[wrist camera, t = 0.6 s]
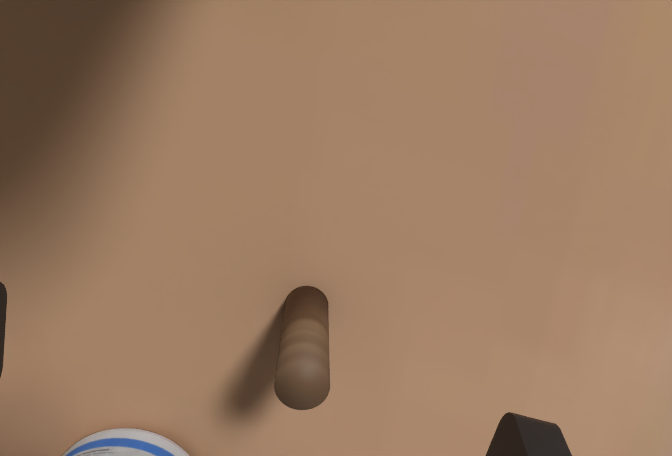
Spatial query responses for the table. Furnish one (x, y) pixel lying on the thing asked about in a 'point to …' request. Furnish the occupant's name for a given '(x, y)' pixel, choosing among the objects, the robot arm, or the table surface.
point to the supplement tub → (125, 444)
